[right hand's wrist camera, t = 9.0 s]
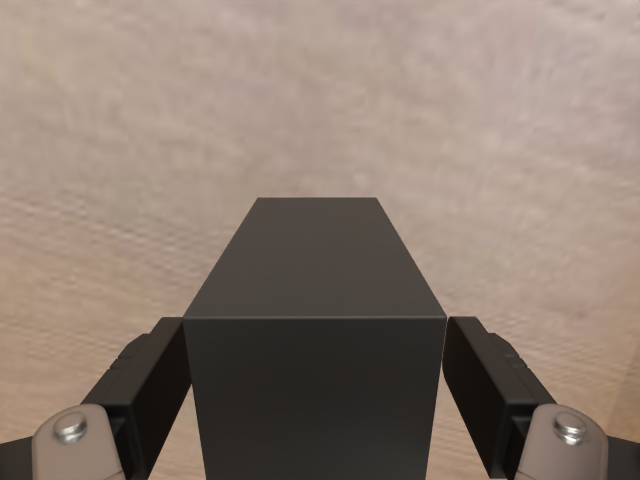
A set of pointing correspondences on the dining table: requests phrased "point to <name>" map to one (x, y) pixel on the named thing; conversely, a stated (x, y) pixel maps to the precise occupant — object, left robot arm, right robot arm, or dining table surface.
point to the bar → (315, 347)
